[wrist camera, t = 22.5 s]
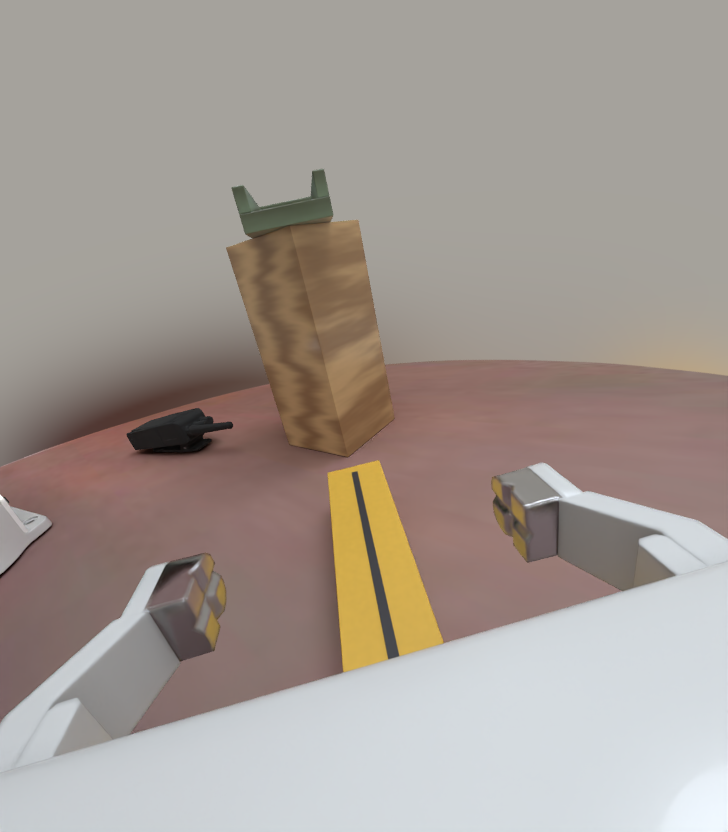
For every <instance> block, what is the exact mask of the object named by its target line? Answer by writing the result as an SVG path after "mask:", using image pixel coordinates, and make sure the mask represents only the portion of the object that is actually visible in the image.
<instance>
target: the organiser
mask: <svg viewBox="0 0 728 832" xmlns="http://www.w3.org/2000/svg"><path fill="white" fill-rule="evenodd" d="M232 191H233V195H234V198H235V201H236V205H237V208H238V211H239V214H240V218H241V222H242V225H243V228H244V232H245V234H246V235H248V236H249V237H251V238H253V239H250V240H247V241H244V242H242V243H239V244H236V245H233V246H230V247H227V248H226V249H227V252H228V255H229V258H230V261H231V264H232V268H233V271H234V274H235V277H236V280H237V283H238V286H239V289H240V293H241V296H242V299H243V302H244V305H245V308H246V311H247V314H248V318H249V320H250V324H251V327H252V330H253V333H254V336H255V339H256V342H257V345H258V348H259V352H260V355H261V358H262V361H263V364H264V367H265V370H266V374H267V377H268V380H269V383H270V386H271V389H272V392H273V395H274V398H275V402H276V405H277V408H278V411H279V414H280V417H281V420H282V423H283V426H284V430H285V433H286V436H287V439H288V442H289V445H294V446H299V447H303V448H308V449H313V450H317V451H322V452H327V453H332V454H336V455H341V456H346V457H349V456H350V455H351V454H352V453H354V452H355V451H356V450H357V449H358V448H360V447H361V446H362V445H363V444H364V443H366V442H367V441H368V440H369V439H370V438H372V437H373V436H374V435H375V434H376V433H378V432H379V431H380V430H381V429H382V428H384V427H385V426H386V425H387V424H389V423H390V422H391V421H392V420H393V419H394V413H393V407H392V402H391V396H390V391H389V385H388V380H387V374H386V369H385V364H384V358H383V353H382V348H381V342H380V336H379V331H378V325H377V320H376V315H375V309H374V304H373V298H372V293H371V287H370V281H369V276H368V271H367V265H366V260H365V254H364V249H363V243H362V238H361V232H360V227H359V221H358V220H350V221H338V222H331V219H332V217H333V211H332V206H331V201H330V197H329V192H328V187H327V182H326V177H325V172H324V169H319V170H314V171H312V186H311V196H310V197H306V198H301V199H297V200H291V201H286V202H281V203H277V204H272V205H267V206H262V207H259V206H258V205H257V203H256V202H255V201H254V199H253V198H252V196H251V195H250V194H249V192H248V191H247V190H246V188H245V187H244V186H243V185H240V186H235V187H232Z"/></svg>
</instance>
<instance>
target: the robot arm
mask: <svg viewBox="0 0 728 832" xmlns="http://www.w3.org/2000/svg"><path fill="white" fill-rule="evenodd" d="M491 486H492V490H493V491H494V492H495V494H496V497H495V499H494V501H493V509H494V514H495V517H496V520H497V522H498V524H499V526H500V528H501V529H502V530H503V532H504V533H505V534H506V535H509V536H511V537H513V544H514V546H515V548H516V549H517V550H518V551H519V553H520V554H521V555H522V557H523V558H524V559H525V561H526V562H527V563H528V562H532V561H536V560H540V559H544V558H548V557H552V556H556V555H558V557H560V558H562V559H563V560H565V561H567V562H569V563H571V564H573V565H575V566H577V567H578V568H580V569H582V570H584V571H586V572H588V573H590V574H591V575H593V576H595V577H597V578H599V579H601V580H603V581H605V582H606V583H608V584H610V585H612V586H614V587H616V588H618V589H619V590H621V591H622V592H618V593H615V594H611V595H608V596H604V597H601V598H598V599H594V600H591V601H587V602H584V603H580V604H577V605H574V606H570V607H567V608H563V609H560V610H556V611H553V612H550V613H546V614H543V615H539V616H536V617H532V618H529V619H526V620H522V621H519V622H515V623H512V624H508V625H505V626H501V627H498V628H495V629H491V630H488V631H484V632H481V633H477V634H474V635H470V636H467V637H464V638H460V639H457V640H453V641H450V642H446V643H443V644H439V645H436V646H433V647H429V648H426V649H422V650H419V651H415V652H412V653H408V654H405V655H402V656H398V657H395V658H391V659H388V660H384V661H381V662H378V663H374V664H371V665H367V666H364V667H360V668H357V669H354V670H350V671H347V672H343V673H340V674H336V675H333V676H330V677H326V678H323V679H319V680H316V681H312V682H309V683H306V684H302V685H299V686H295V687H292V688H288V689H285V690H282V691H278V692H275V693H271V694H268V695H264V696H261V697H258V698H254V699H251V700H247V701H244V702H240V703H237V704H233V705H230V706H227V707H223V708H220V709H216V710H213V711H209V712H206V713H203V714H199V715H196V716H192V717H189V718H185V719H182V720H179V721H175V722H172V723H168V724H165V725H161V726H158V727H155V728H151V729H148V730H144V731H141V732H137V733H134V734H130V733H131V732H132V731H133V729H134V728H135V726H136V725H137V724H138V722H139V721H140V719H141V718H142V717H143V715H144V714H145V712H146V711H147V710H148V708H149V707H150V705H151V704H152V703H153V701H154V700H155V699H156V697H157V696H158V694H159V693H160V692H161V690H162V689H163V687H164V686H165V685H166V683H167V682H168V680H169V679H170V678H171V676H172V675H173V673H174V672H175V671H176V669H177V668H178V666H179V665H180V664H181V663H180V661H183V660H187V659H190V658H193V657H196V656H199V655H203V654H206V653H209V652H212V651H214V650H215V646H216V642H217V638H218V634H219V630H220V625H219V623H218V621H217V619H218V618H219V617H220V616H221V614H222V613H223V612H224V610H225V605H226V588H225V584H224V581H223V579H222V576H221V575H220V574H218V573H216V572H214V571H213V568H214V565H215V562H214V560H213V559H212V557H211V555H210V554H208V553H202V554H198V555H194V556H190V557H186V558H182V559H178V560H173V561H170V562H166V563H162V564H158V565H154V566H151V567H150V568H148V569H147V570H146V572H145V574H144V576H143V577H142V579H141V581H140V583H139V585H138V586H137V588H136V590H135V592H134V594H133V596H132V597H131V599H130V601H129V603H128V605H127V606H126V608H125V610H124V612H123V614H122V616H121V617H120V619H117V620H113V621H112V622H111V623H110V624H109V625H108V626H107V627H106V628H104V629H103V630H102V631H101V632H100V633H99V634H98V635H96V636H95V637H94V638H93V639H92V640H91V641H90V642H89V643H87V644H86V645H85V646H84V647H83V648H82V649H81V650H79V651H78V652H77V653H76V654H75V655H74V656H73V657H72V658H70V659H69V660H68V661H67V662H66V663H65V664H64V665H62V666H61V667H60V668H59V669H58V670H57V671H56V672H55V673H53V674H52V675H51V676H50V677H49V678H48V679H47V680H45V681H44V682H43V683H42V684H41V685H40V686H39V687H38V688H36V689H35V690H34V691H33V692H32V693H31V694H30V695H28V696H27V697H26V698H25V699H24V700H23V701H22V702H21V703H19V704H18V705H17V706H16V707H15V708H14V709H13V710H11V711H10V712H9V713H8V714H7V715H6V716H5V717H4V718H3V720H2V721H1V723H0V832H728V539H726V538H725V537H723V536H722V535H720V534H718V533H717V532H715V531H714V530H712V529H711V528H709V527H707V526H706V525H704V524H703V523H701V522H699V521H697V520H693V519H690V518H686V517H682V516H679V515H675V514H671V513H668V512H664V511H660V510H656V509H653V508H649V507H645V506H642V505H638V504H634V503H630V502H627V501H623V500H619V499H616V498H612V497H608V496H604V495H601V494H597V493H593V492H590V491H587V492H584V493H583V492H582V491H581V490H579V489H578V488H577V487H575V486H574V485H573V484H572V483H570V482H569V481H568V480H567V479H565V478H564V477H563V476H561V475H560V474H559V473H558V472H556V471H555V470H554V469H552V468H551V467H550V466H549V465H547V464H546V463H539V464H535V465H532V466H528V467H526V468H524V469H520V470H516V471H513V472H509V473H505V474H502V475H498V476H494V477H492V481H491ZM8 503H9V501H8V500H7V499H6V498H5V497H2V496H1V495H0V574H2V573H3V572H4V571H5V570H6V569H7V568H8V567H9V566H10V565H11V564H12V563H13V562H14V561H15V560H16V559H17V558H18V557H19V556H20V555H21V553H22V552H23V551H24V550H25V548H26V547H27V546H28V545H29V544H30V543H31V542H32V541H33V540H35V539H36V538H37V537H38V536H40V535H41V534H42V533H43V532H45V531H46V530H47V529H48V528H49V527H50V526H51V525H52V522H51V521H50V520H49V519H48V518H47V517H46V516H43V515H40V514H36V513H32V512H29V511H25V510H22V509H18V508H15V507H11V506H9V504H8Z"/></svg>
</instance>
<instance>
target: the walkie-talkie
mask: <svg viewBox="0 0 728 832" xmlns="http://www.w3.org/2000/svg"><path fill="white" fill-rule="evenodd" d="M232 427H233V424H232V422H226V423H214V424H213V418H212V417H210V416H207V417H205V415H204V413H203V412H202V411H201V410H200V409H199V408H195V409H191V410H187V411H184V412H179V413H175V414H171V415H168V416H165V417H161V418H158V419H154V420H151V421H149V422H147V423H145V424H143V425H141V426H139V427H138V428H136V429H134V430H132V432H130V433H127V437H128V439H129V440H130V442H131V444H132V445H133V447H134V449H135V450H141V449H150V448H152V449H153V451H154V452H190V451H198V450H200V449H201V448H203V447H204V446H205V445H207V444H208V443H210V442H211V439H203V435H204V433H207V432H212V431H218V430H224V429H227V428H228V429H231V428H232Z"/></svg>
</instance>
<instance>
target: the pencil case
mask: <svg viewBox="0 0 728 832" xmlns="http://www.w3.org/2000/svg"><path fill="white" fill-rule="evenodd" d="M328 485H329V498H330V511H331V523H332V536H333V549H334V562H335V575H336V588H337V600H338V613H339V626H340V639H341V652H342V665H343V672H347V671H350V670H354V669H357V668H360V667H364V666H367V665H371V664H374V663H378V662H381V661H384V660H388V659H391V658H395V657H398V656H402V655H405V654H408V653H412V652H415V651H419V650H422V649H426V648H429V647H433V646H436V645H439V644H443V643H444V642H443V639H442V636H441V633H440V630H439V628H438V625H437V622H436V619H435V616H434V614H433V611H432V608H431V605H430V602H429V599H428V597H427V594H426V591H425V588H424V585H423V583H422V580H421V577H420V574H419V571H418V569H417V566H416V563H415V560H414V557H413V554H412V552H411V549H410V546H409V543H408V540H407V538H406V535H405V532H404V529H403V526H402V523H401V521H400V518H399V515H398V512H397V509H396V507H395V504H394V501H393V498H392V495H391V492H390V490H389V487H388V484H387V481H386V478H385V476H384V473H383V470H382V467H381V464H380V461H379V460H378V461H374V462H370V463H366V464H362V465H358V466H354V467H350V468H346V469H341V470H337V471H333V472H329V473H328Z"/></svg>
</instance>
